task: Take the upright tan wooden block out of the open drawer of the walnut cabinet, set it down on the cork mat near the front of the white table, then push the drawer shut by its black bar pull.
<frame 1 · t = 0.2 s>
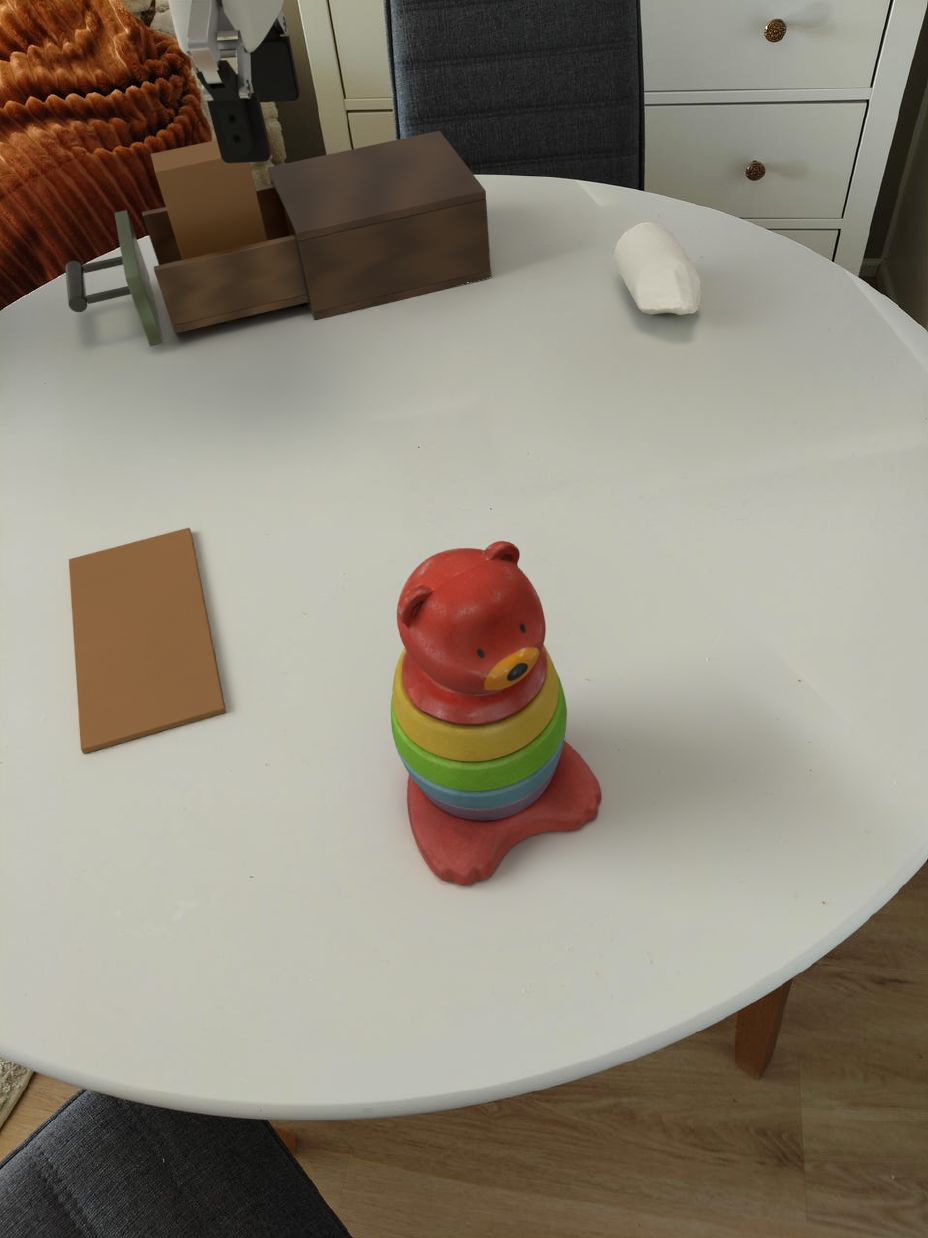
hand: (263, 128, 68), 23 cm above the table, tool pointing down, fingers open, 9 cm apart
cabinet: (385, 263, 99), on the table
roll: (660, 311, 90), on the table
upright tan wooden block: (232, 278, 96), point 2 cm above the table, touching drawer
mat: (142, 632, 68), on the table
drawer: (188, 265, 93), point 4 cm above the table, slide at 14.0 cm, touching upright tan wooden block
stacking bear: (489, 789, 58), on the table
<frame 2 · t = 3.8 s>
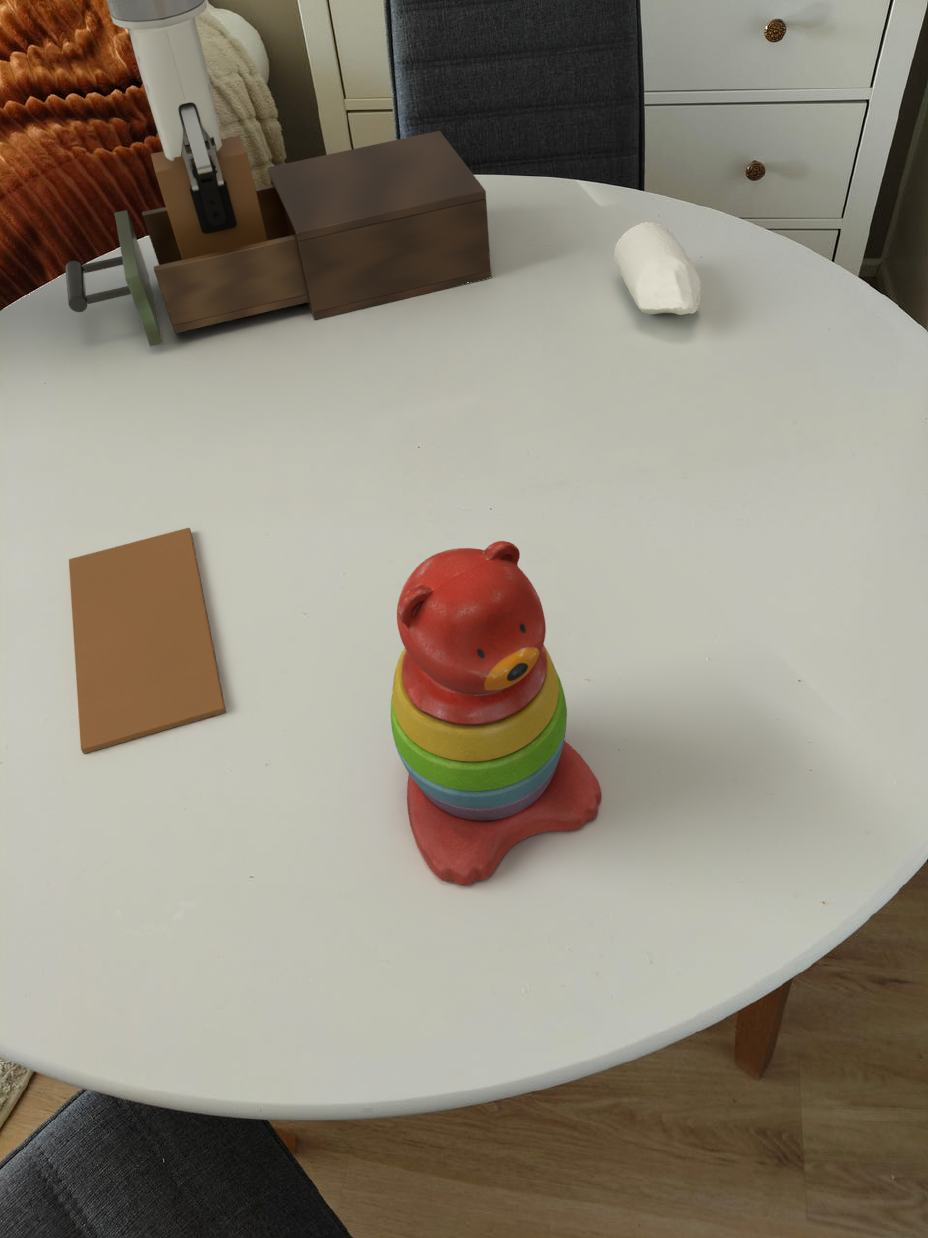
hand: (215, 215, 91), 8 cm above the table, tool pointing down, fingers closed on upright tan wooden block, 4 cm apart
upright tan wooden block: (232, 278, 96), point 2 cm above the table, touching drawer, gripper
everything else where it was.
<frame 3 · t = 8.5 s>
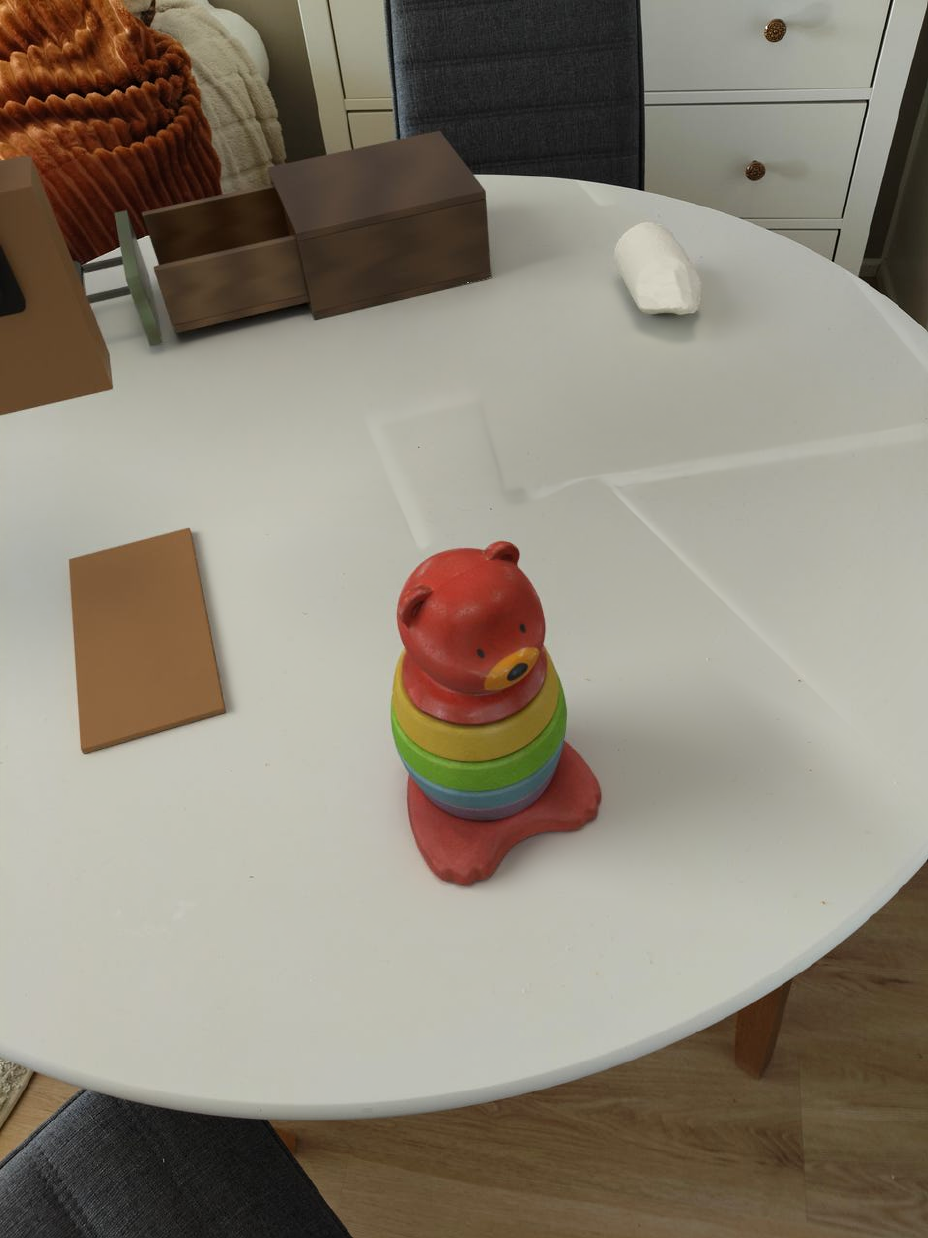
upright tan wooden block: (43, 386, 59), point 17 cm above the table, touching gripper
drawer: (188, 265, 93), point 4 cm above the table, slide at 14.0 cm
everything else where it was.
when the fingers open (7 cm above the table, at t = 13.5 s): upright tan wooden block stays where it is, resting on mat.
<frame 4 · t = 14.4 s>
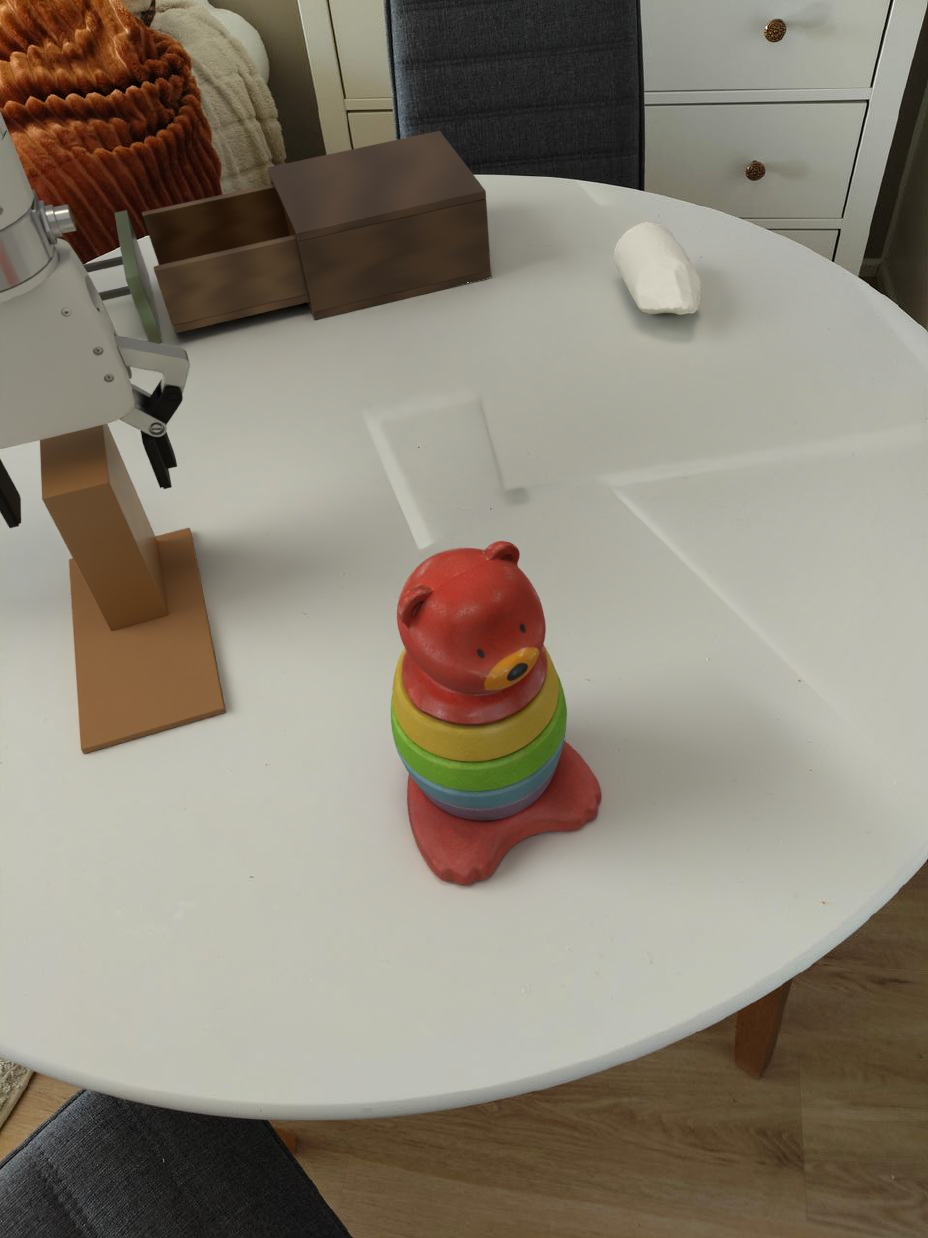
hand: (91, 494, 65), 9 cm above the table, tool pointing down, fingers open, 9 cm apart
upright tan wooden block: (135, 584, 71), resting on mat
everything else where it was.
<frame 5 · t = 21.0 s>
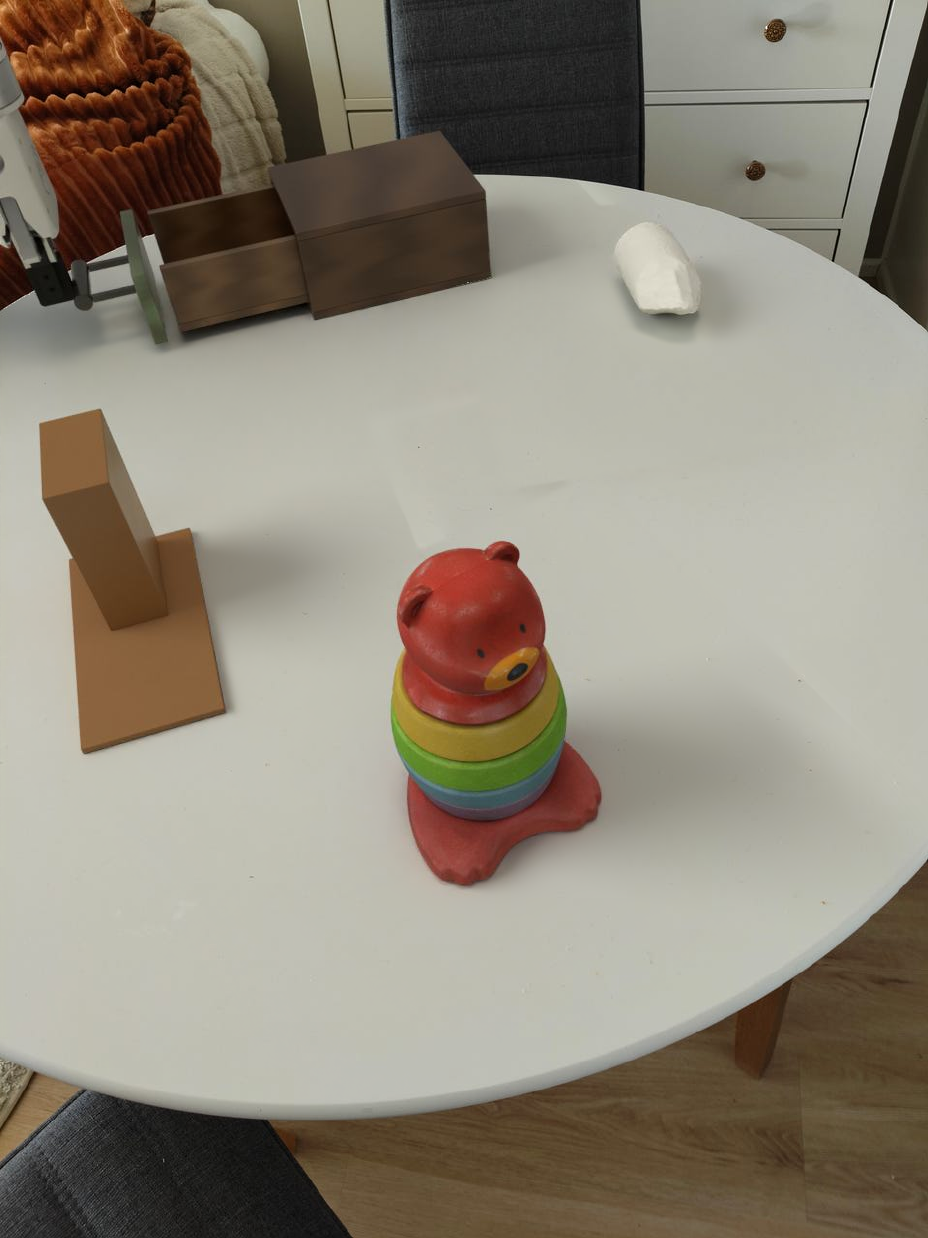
hand: (58, 298, 92), 4 cm above the table, tool pointing down, fingers closed
drawer: (193, 264, 94), point 4 cm above the table, slide at 13.5 cm, touching gripper
everything else where it was.
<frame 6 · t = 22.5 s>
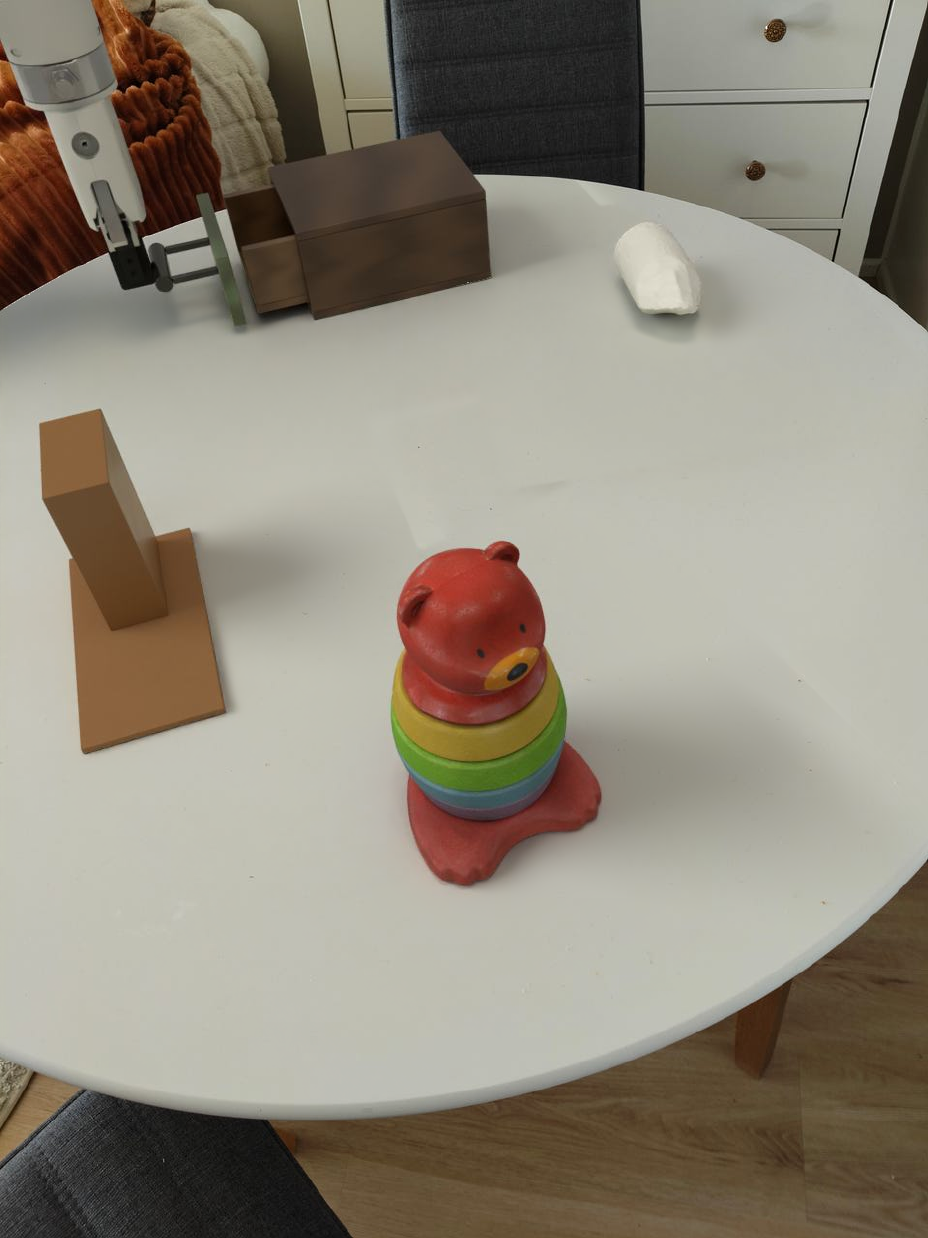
hand: (138, 282, 93), 4 cm above the table, tool pointing down, fingers closed
drawer: (270, 246, 95), point 4 cm above the table, slide at 6.1 cm, touching gripper
everything else where it was.
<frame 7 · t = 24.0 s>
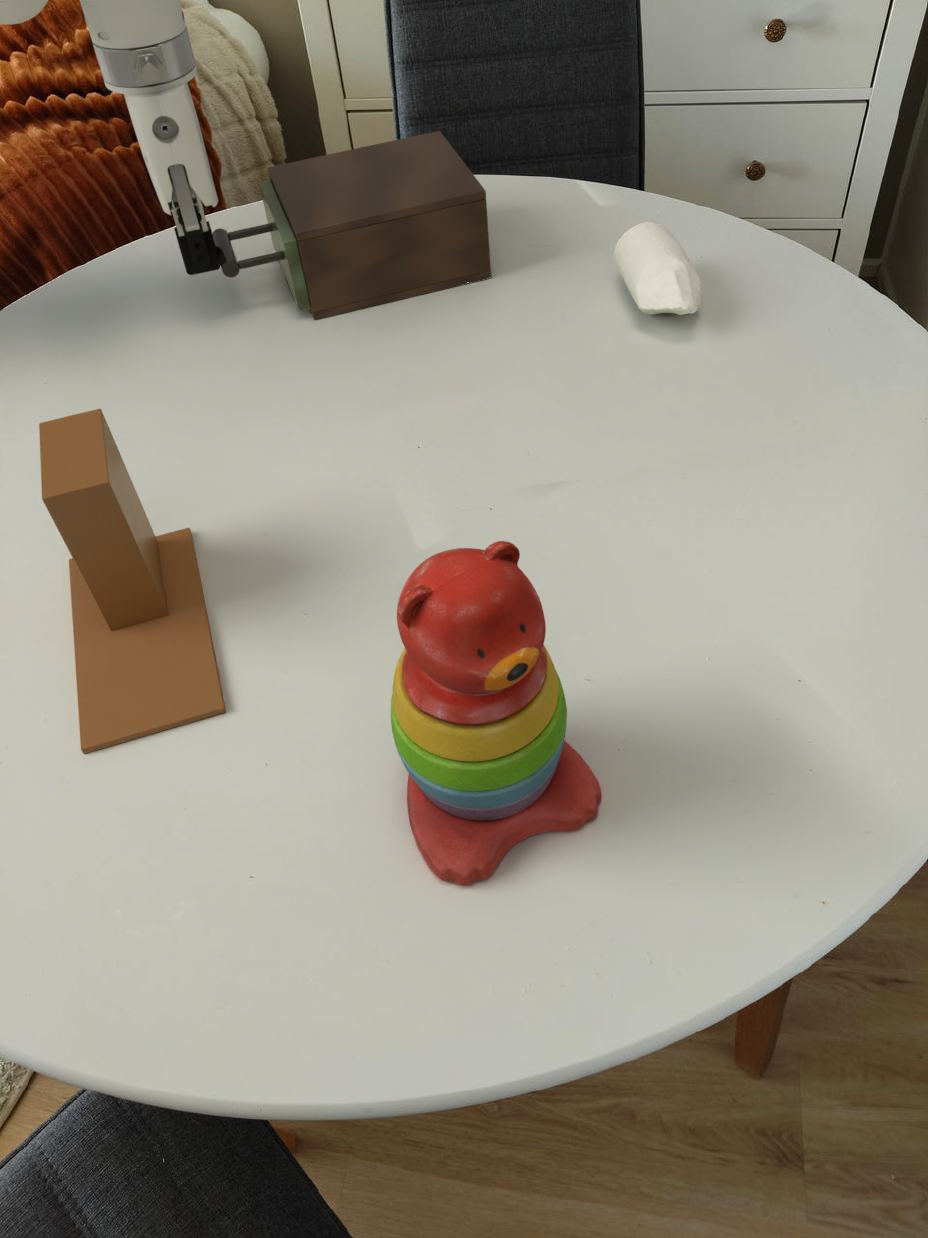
hand: (203, 267, 94), 4 cm above the table, tool pointing down, fingers closed
drawer: (332, 232, 96), point 4 cm above the table, slide at 0.0 cm, touching cabinet, gripper
everything else where it was.
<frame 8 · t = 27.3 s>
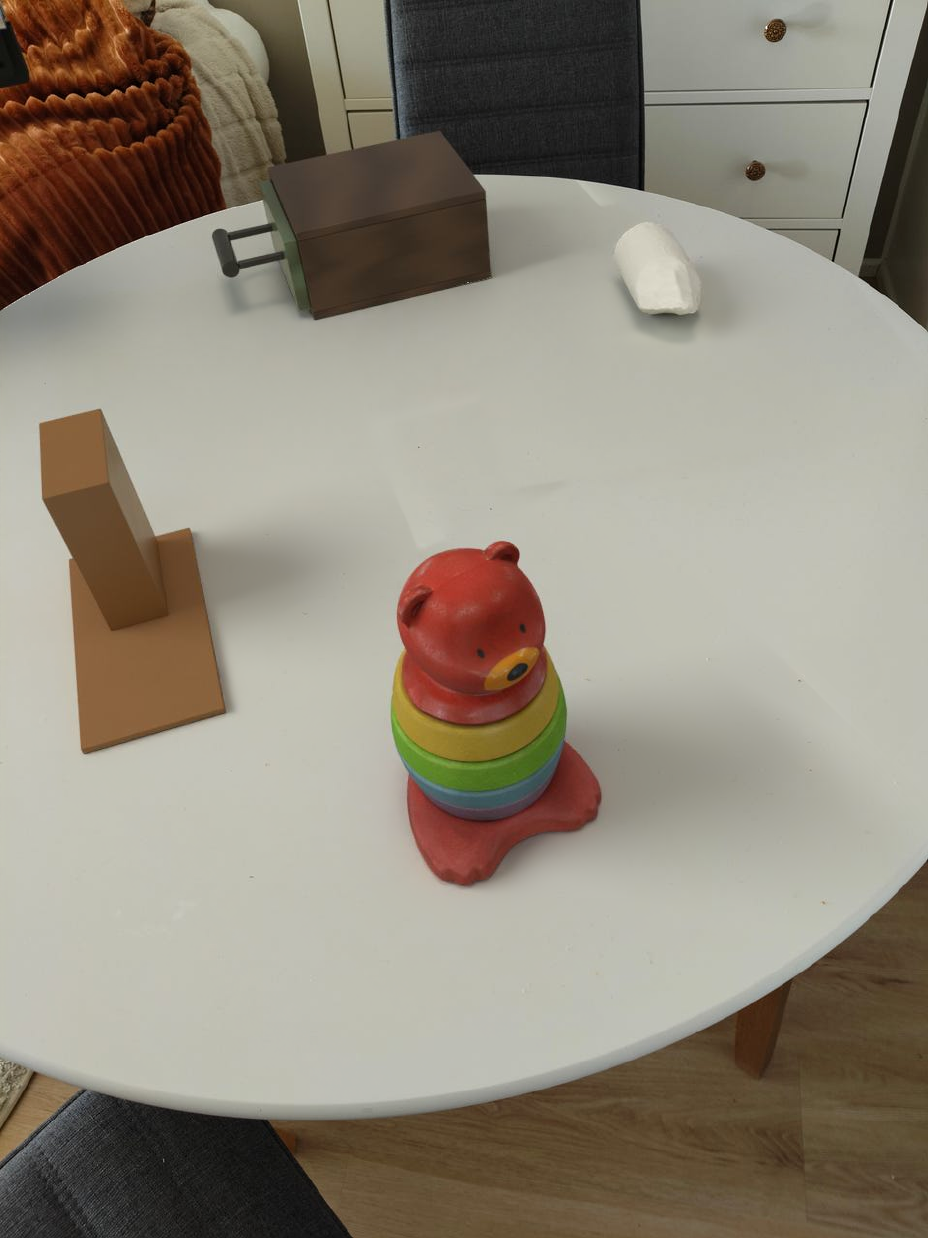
hand: (10, 82, 79), 22 cm above the table, tool pointing down, fingers closed
drawer: (332, 232, 96), point 4 cm above the table, slide at 0.0 cm, touching cabinet
everything else where it was.
at the end: upright tan wooden block inside the target area on the mat (0.7 cm from its centre), point 0.5 cm above the mat's base; the gripper is holding nothing; drawer slide at 0.0 cm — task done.
